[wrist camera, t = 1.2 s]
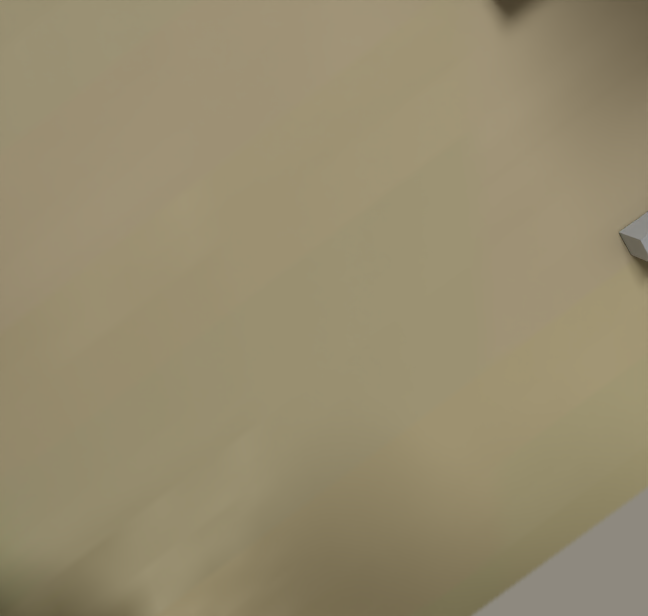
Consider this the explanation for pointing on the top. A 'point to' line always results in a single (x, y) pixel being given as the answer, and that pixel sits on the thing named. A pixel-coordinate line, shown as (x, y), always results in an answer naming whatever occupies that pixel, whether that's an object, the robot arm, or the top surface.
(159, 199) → the top surface
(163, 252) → the top surface
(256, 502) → the top surface
